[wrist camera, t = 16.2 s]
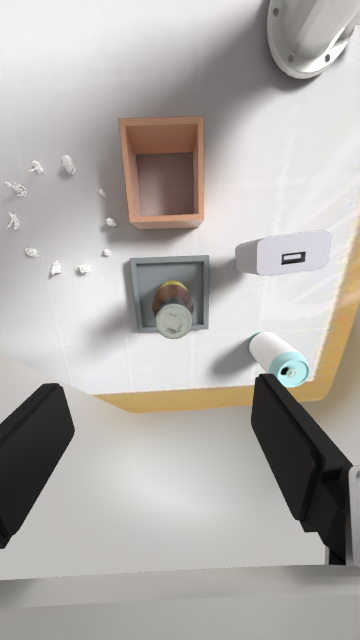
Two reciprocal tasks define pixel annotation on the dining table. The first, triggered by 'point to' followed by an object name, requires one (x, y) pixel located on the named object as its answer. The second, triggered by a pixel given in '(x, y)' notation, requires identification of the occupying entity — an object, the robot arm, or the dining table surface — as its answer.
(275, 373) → the can
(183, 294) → the sauce bottle
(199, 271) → the tray
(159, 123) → the open terracotta box
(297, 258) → the charger
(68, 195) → the dining table surface
